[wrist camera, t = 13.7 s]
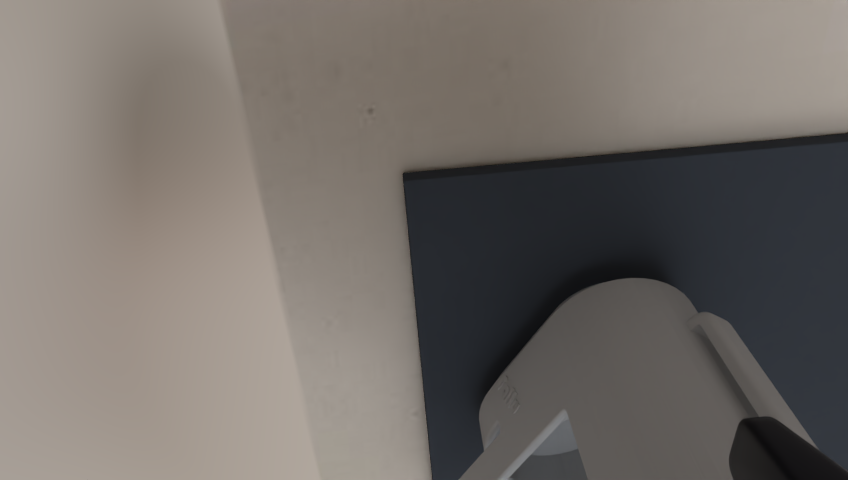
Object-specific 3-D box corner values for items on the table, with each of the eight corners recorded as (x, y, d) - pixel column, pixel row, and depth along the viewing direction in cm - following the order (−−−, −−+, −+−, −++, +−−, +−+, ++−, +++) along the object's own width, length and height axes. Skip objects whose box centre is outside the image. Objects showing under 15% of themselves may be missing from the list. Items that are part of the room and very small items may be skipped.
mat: (441, 576, 34) (442, 587, 34) (402, 172, 21) (403, 181, 20) (814, 540, 34) (821, 550, 34) (1006, 118, 21) (1020, 125, 21)
